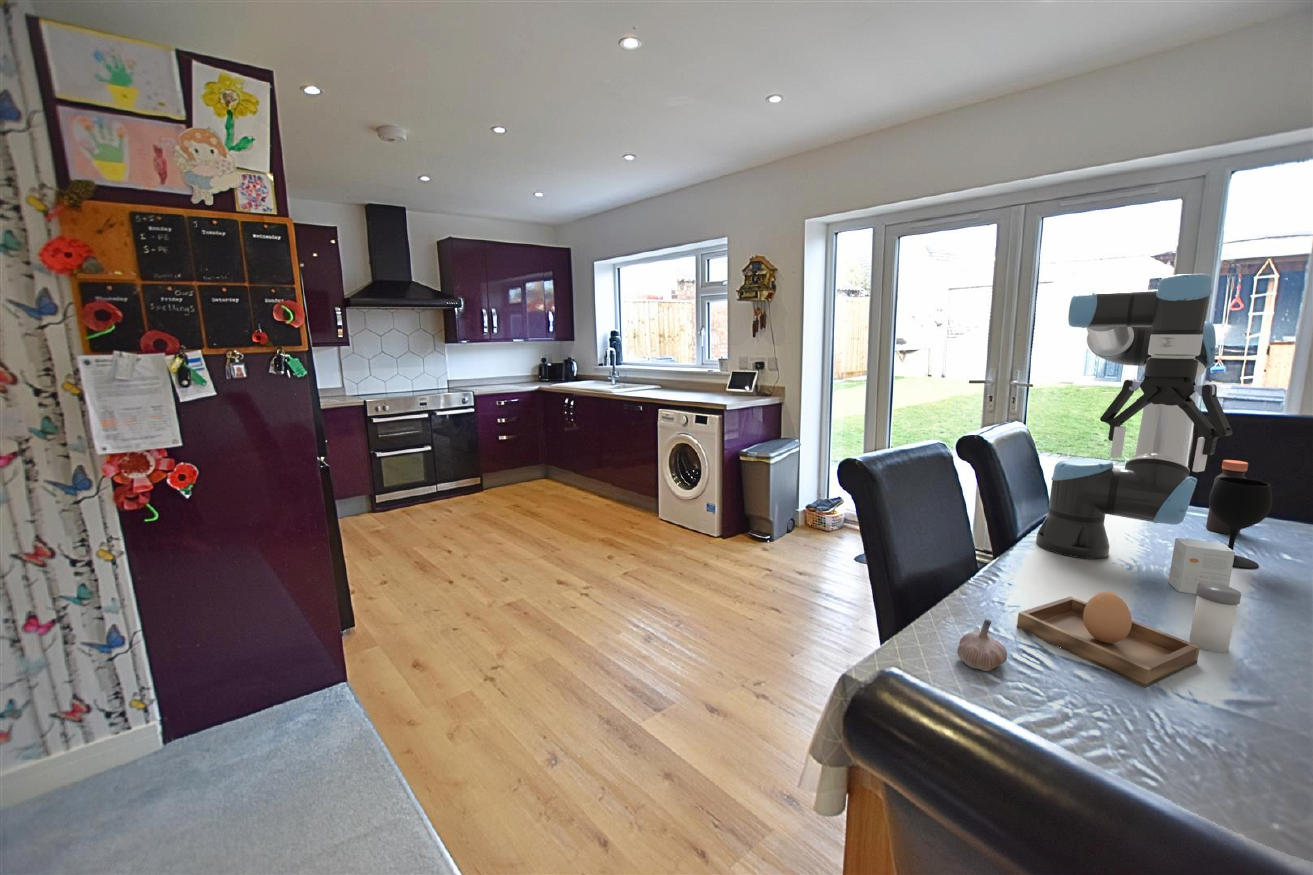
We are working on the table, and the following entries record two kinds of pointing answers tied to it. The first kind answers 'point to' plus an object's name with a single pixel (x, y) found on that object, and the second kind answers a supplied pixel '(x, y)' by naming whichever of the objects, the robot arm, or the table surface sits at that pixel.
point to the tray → (1132, 658)
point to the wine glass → (1240, 508)
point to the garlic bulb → (981, 649)
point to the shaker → (1214, 616)
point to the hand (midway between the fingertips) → (1154, 463)
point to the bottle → (1229, 470)
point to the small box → (1199, 564)
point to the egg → (1107, 617)
